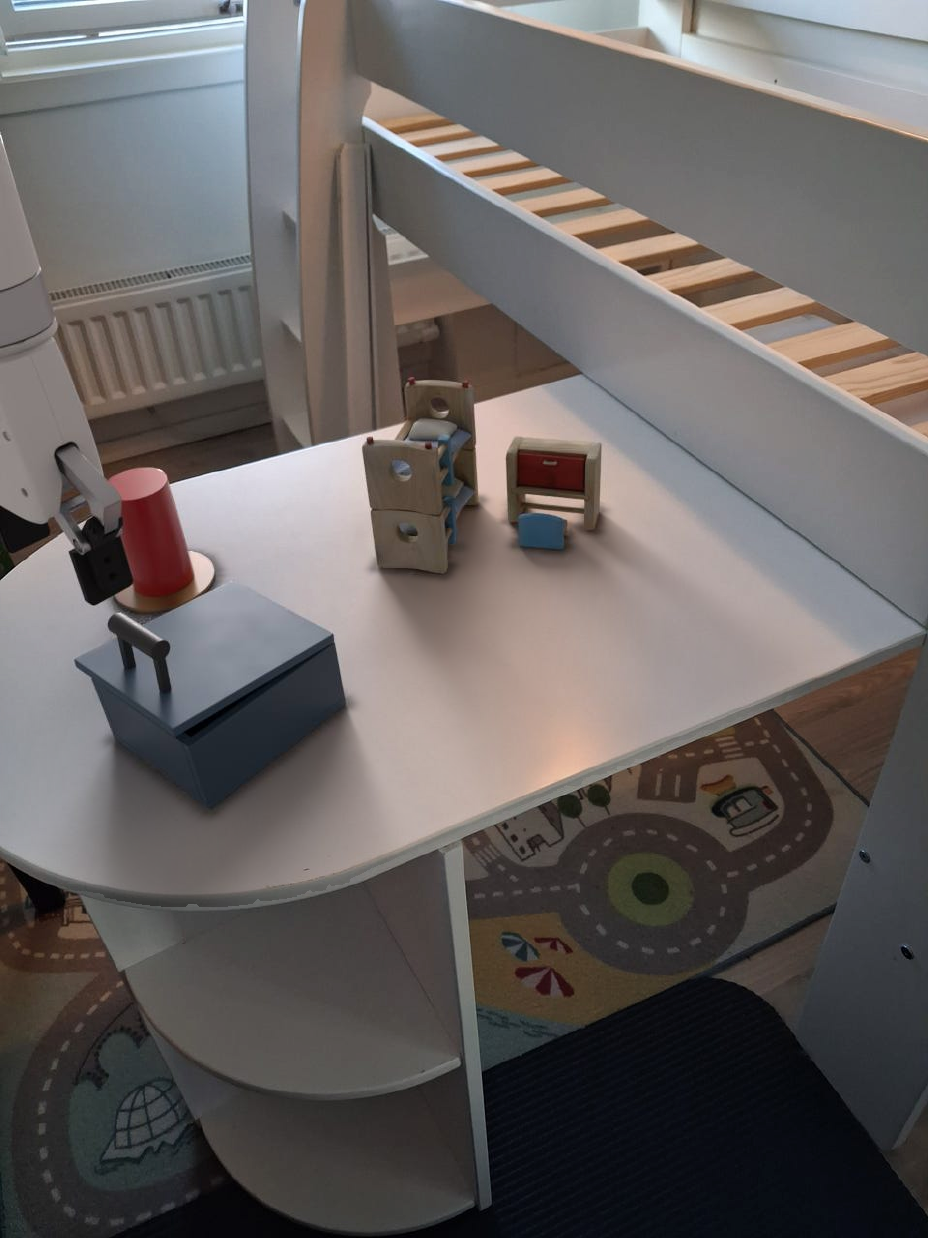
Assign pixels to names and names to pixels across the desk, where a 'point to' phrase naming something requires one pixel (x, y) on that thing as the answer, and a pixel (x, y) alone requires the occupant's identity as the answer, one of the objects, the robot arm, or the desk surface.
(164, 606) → the coaster
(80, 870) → the desk surface
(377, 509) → the dollhouse furniture set
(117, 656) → the lid
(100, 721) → the desk surface
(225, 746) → the blue rectangular box
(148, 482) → the can
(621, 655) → the desk surface
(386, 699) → the desk surface
